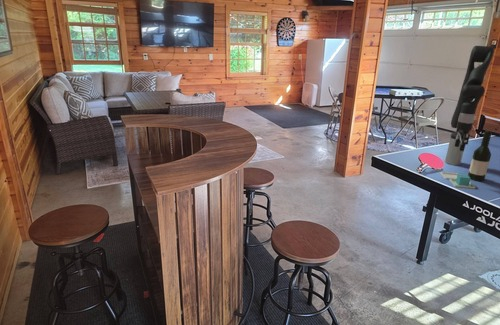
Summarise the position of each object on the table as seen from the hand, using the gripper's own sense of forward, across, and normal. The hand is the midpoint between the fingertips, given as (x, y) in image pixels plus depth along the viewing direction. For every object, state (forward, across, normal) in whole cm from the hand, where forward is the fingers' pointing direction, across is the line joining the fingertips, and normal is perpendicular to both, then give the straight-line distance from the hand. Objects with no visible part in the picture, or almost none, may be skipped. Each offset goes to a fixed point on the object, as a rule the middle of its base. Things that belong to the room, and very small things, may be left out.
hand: (459, 148), depth 190 cm
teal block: (+18, +11, +2) cm, 21 cm away
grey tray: (+18, 0, 0) cm, 18 cm away
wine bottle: (+18, -1, +13) cm, 23 cm away
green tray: (+18, +11, +2) cm, 21 cm away
